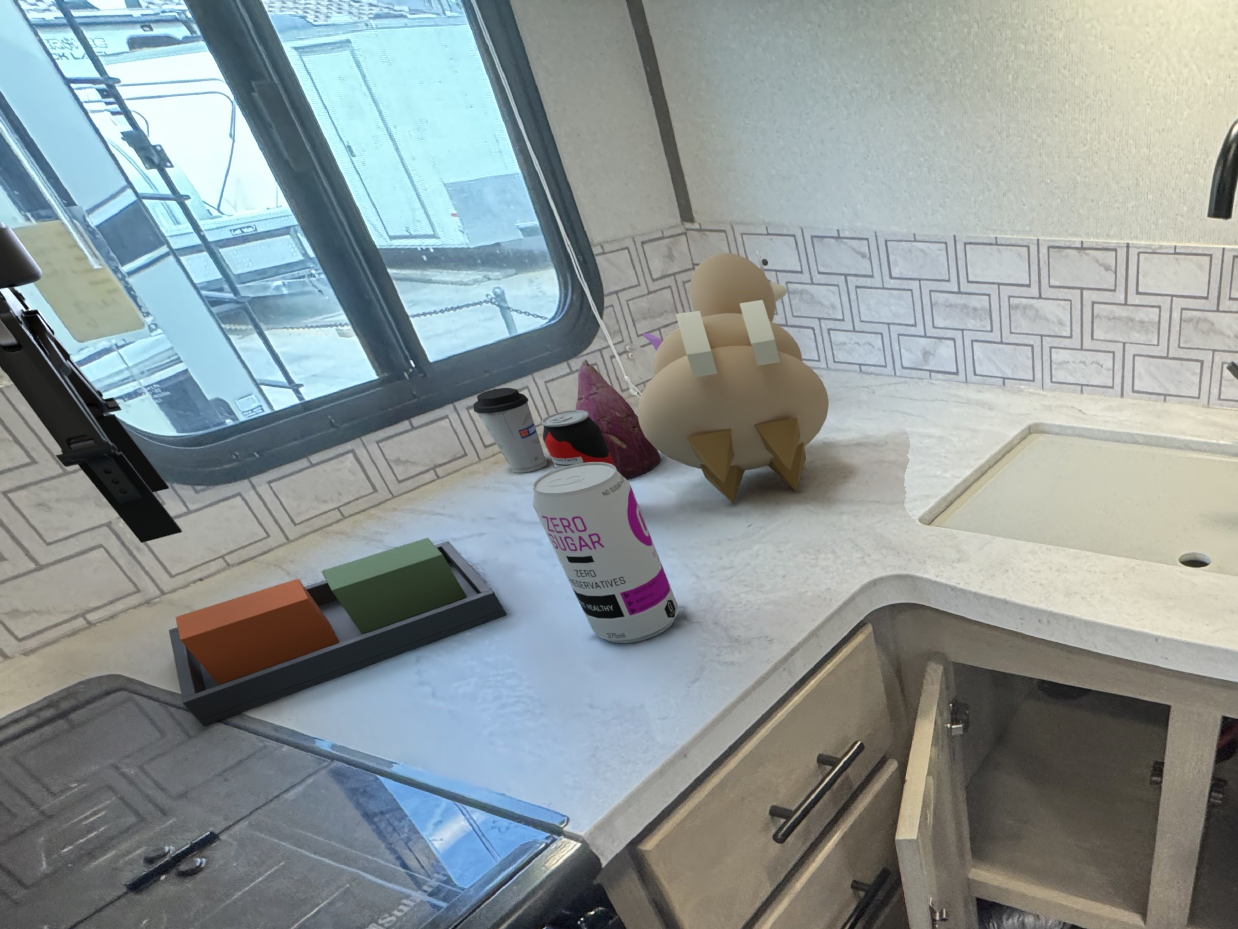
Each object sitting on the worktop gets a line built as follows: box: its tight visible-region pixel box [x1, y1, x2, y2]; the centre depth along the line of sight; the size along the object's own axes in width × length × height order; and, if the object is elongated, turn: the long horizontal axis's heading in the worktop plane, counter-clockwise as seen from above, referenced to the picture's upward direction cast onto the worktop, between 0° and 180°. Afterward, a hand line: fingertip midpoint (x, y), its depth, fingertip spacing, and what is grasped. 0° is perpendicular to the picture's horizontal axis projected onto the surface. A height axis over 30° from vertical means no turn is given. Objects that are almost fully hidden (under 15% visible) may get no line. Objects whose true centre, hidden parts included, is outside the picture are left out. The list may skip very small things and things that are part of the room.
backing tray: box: [168, 540, 507, 727], centre depth 85 cm, size 18×26×3 cm
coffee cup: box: [473, 387, 548, 474], centre depth 116 cm, size 7×7×10 cm
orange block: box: [175, 578, 339, 685], centre depth 81 cm, size 6×10×5 cm, turn 132°
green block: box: [321, 537, 467, 634], centre depth 87 cm, size 6×10×5 cm, turn 132°
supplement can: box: [532, 462, 680, 644], centre depth 79 cm, size 8×8×15 cm
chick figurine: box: [637, 250, 830, 504], centre depth 102 cm, size 30×28×23 cm
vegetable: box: [574, 359, 662, 480], centre depth 114 cm, size 10×10×15 cm
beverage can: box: [541, 409, 615, 470], centre depth 101 cm, size 6×6×12 cm
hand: (156, 513), depth 73 cm, fingers open, 13 cm apart
